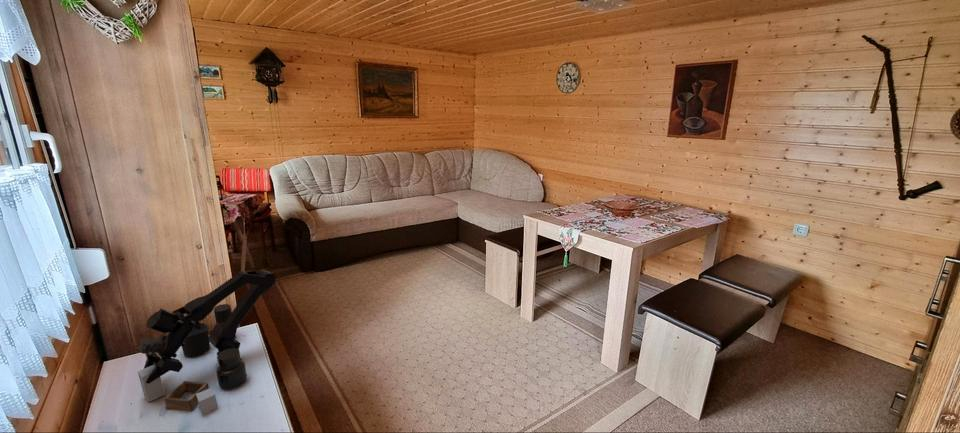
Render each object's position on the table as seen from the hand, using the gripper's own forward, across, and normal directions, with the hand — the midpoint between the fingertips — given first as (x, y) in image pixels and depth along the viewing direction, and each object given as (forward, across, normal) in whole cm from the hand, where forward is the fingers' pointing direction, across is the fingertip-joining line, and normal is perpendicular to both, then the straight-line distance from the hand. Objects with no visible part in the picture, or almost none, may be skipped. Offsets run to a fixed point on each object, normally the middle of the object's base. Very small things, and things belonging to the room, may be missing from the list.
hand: (144, 380), depth 135 cm
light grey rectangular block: (+4, 0, +6) cm, 7 cm away
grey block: (-2, +20, +13) cm, 23 cm away
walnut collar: (0, +11, +11) cm, 15 cm away
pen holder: (-9, -16, +20) cm, 27 cm away
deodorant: (-17, -15, +28) cm, 36 cm away
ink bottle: (-9, +14, +20) cm, 26 cm away
